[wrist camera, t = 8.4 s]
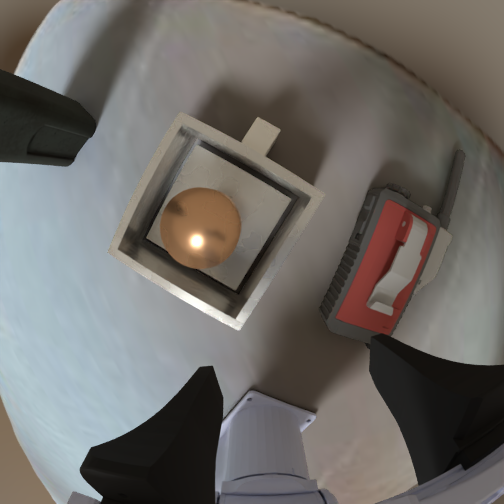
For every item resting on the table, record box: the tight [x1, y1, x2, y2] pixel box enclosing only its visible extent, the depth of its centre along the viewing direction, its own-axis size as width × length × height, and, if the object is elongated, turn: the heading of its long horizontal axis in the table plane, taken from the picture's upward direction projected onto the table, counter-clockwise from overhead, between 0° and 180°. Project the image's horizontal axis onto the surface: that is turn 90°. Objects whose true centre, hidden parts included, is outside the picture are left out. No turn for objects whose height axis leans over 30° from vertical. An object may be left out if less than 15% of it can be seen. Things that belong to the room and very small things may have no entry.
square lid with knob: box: [146, 145, 291, 291], centre depth 16 cm, size 8×8×7 cm
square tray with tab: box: [107, 112, 325, 331], centre depth 18 cm, size 12×10×4 cm
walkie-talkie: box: [319, 150, 465, 349], centre depth 19 cm, size 9×4×20 cm
